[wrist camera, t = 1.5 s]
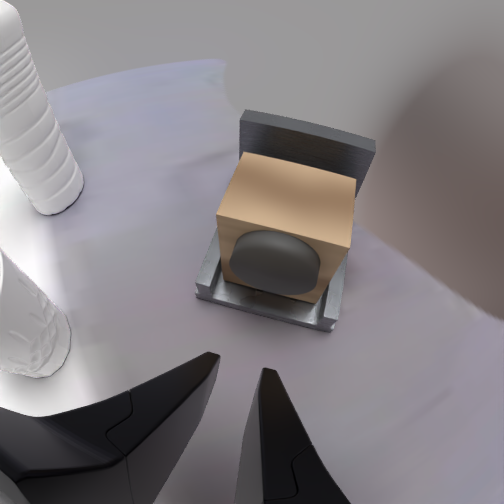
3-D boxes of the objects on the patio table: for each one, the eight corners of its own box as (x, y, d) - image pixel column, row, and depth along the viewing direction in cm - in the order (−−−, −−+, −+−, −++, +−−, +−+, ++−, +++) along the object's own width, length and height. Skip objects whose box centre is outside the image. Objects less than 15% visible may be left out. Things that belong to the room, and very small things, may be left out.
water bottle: (73, 162, 31) (5, -31, 9) (93, 190, 28) (11, -41, 7) (16, 205, 27) (-81, 27, 6) (29, 240, 25) (-97, 33, 3)
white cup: (88, 307, 22) (21, 243, 14) (65, 398, 18) (-23, 375, 10) (24, 288, 23) (-41, 229, 14) (0, 367, 19) (-79, 330, 10)
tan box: (312, 319, 21) (347, 268, 15) (218, 294, 22) (208, 233, 15) (326, 247, 24) (356, 179, 18) (242, 225, 25) (243, 151, 18)
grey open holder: (330, 332, 22) (369, 291, 15) (196, 297, 23) (178, 242, 16) (348, 203, 28) (375, 140, 21) (243, 177, 29) (245, 109, 23)
